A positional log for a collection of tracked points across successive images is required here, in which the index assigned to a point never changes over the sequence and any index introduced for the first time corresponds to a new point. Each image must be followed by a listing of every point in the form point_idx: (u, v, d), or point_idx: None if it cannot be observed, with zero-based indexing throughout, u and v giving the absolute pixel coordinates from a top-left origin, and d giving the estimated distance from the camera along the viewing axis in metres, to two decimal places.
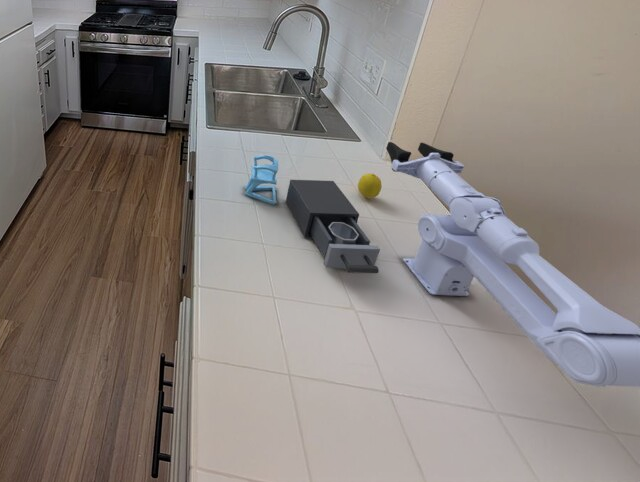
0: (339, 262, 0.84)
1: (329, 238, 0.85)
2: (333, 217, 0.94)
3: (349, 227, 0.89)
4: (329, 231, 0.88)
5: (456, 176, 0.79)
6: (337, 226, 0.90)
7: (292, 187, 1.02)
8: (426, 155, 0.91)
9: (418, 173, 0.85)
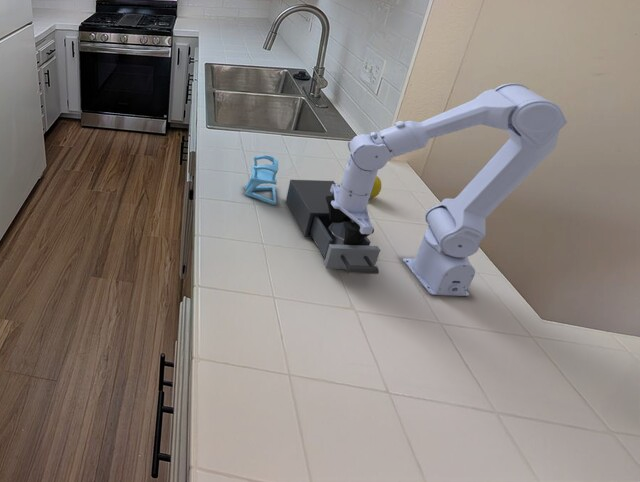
0: (339, 262, 0.84)
1: (329, 238, 0.85)
2: None
3: None
4: (329, 231, 0.88)
5: (343, 177, 0.83)
6: (337, 226, 0.90)
7: (292, 187, 1.02)
8: (340, 216, 0.90)
9: (361, 209, 0.82)
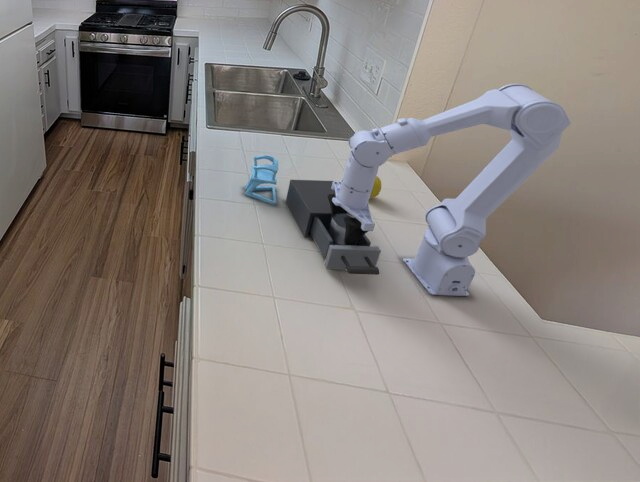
0: (340, 263, 0.84)
1: (330, 239, 0.85)
2: None
3: None
4: (333, 222, 0.87)
5: (344, 174, 0.83)
6: (340, 217, 0.89)
7: (292, 187, 1.02)
8: None
9: (363, 206, 0.81)
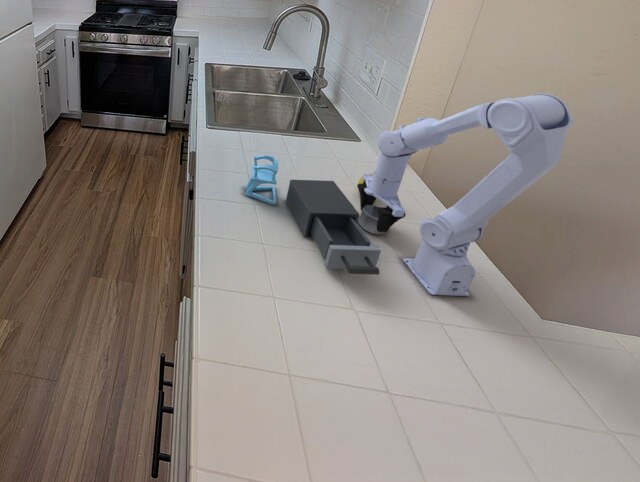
0: (340, 263, 0.84)
1: (330, 239, 0.85)
2: (333, 218, 0.93)
3: None
4: (363, 212, 0.97)
5: None
6: (369, 208, 0.99)
7: (292, 187, 1.02)
8: (371, 202, 1.00)
9: (393, 195, 0.91)
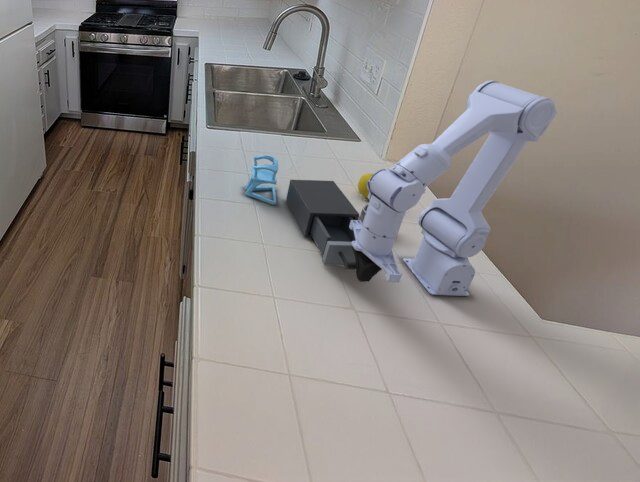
0: (337, 259, 0.85)
1: (327, 235, 0.86)
2: None
3: None
4: (363, 212, 0.97)
5: (368, 221, 0.73)
6: None
7: (292, 187, 1.02)
8: None
9: (387, 252, 0.73)
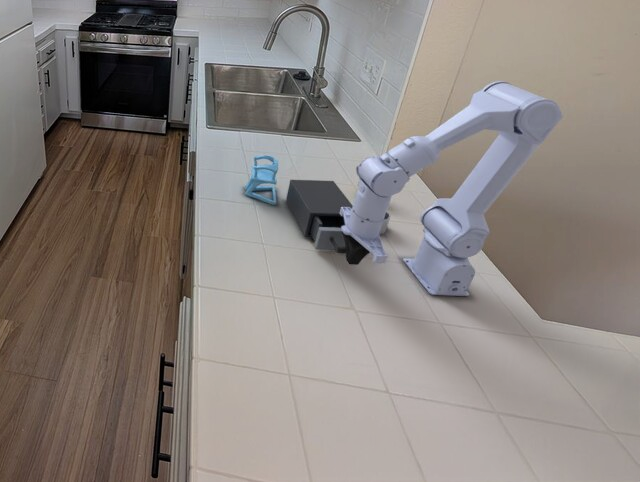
0: (328, 244, 0.89)
1: (319, 222, 0.90)
2: None
3: None
4: None
5: (355, 204, 0.78)
6: None
7: (292, 187, 1.02)
8: None
9: (374, 236, 0.77)
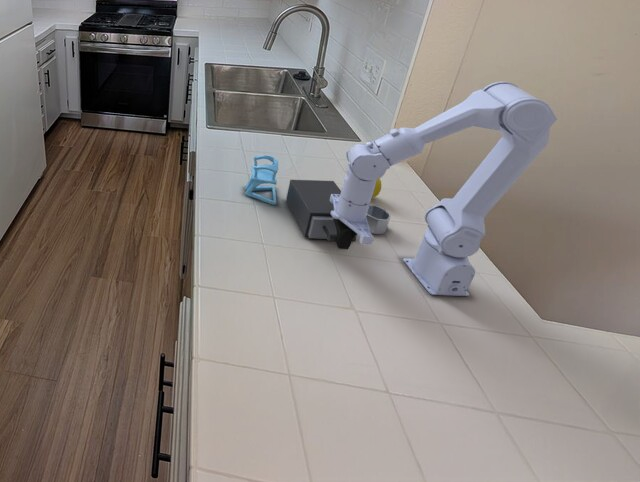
0: (321, 233, 0.92)
1: None
2: None
3: (381, 209, 0.98)
4: None
5: (342, 187, 0.84)
6: (369, 208, 0.99)
7: (292, 187, 1.02)
8: (349, 238, 0.86)
9: (361, 219, 0.82)
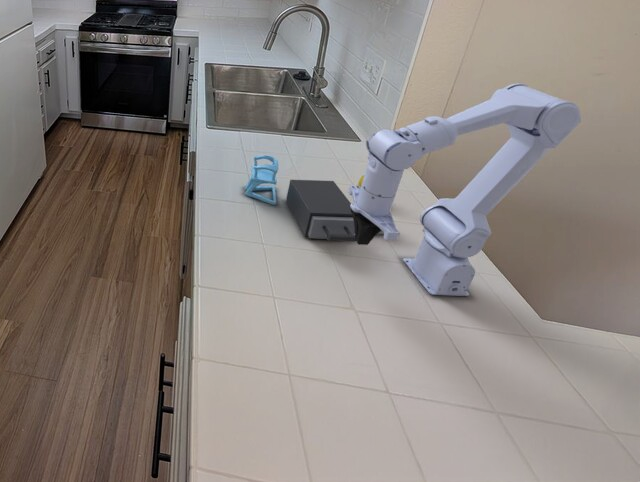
0: (321, 233, 0.92)
1: None
2: None
3: None
4: None
5: (365, 180, 0.75)
6: None
7: (292, 187, 1.02)
8: None
9: (385, 213, 0.74)
